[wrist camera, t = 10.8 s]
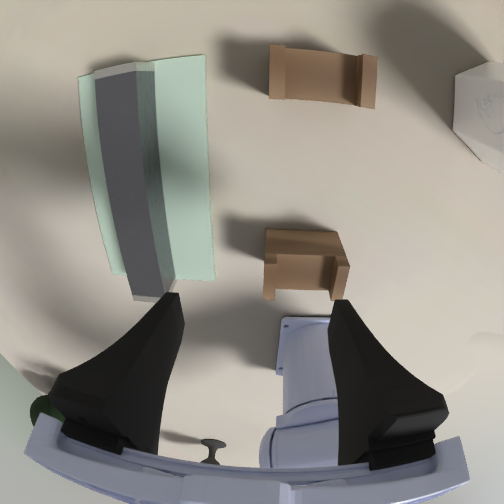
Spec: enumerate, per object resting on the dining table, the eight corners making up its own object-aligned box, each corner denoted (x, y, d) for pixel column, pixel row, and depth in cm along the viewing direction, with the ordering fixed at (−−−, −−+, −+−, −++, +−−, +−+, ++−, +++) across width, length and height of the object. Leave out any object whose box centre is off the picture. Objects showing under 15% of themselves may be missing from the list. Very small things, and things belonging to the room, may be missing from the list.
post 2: (331, 263, 24) (341, 301, 20) (264, 261, 24) (262, 299, 20) (337, 232, 23) (350, 266, 19) (265, 229, 23) (264, 263, 19)
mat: (215, 278, 26) (214, 281, 25) (114, 272, 26) (112, 274, 26) (205, 55, 16) (204, 55, 16) (81, 77, 17) (78, 77, 16)
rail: (176, 280, 26) (167, 303, 23) (145, 278, 26) (133, 300, 23) (154, 63, 16) (136, 61, 13) (116, 70, 16) (93, 70, 14)
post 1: (352, 103, 17) (374, 109, 13) (269, 96, 17) (268, 98, 13) (354, 62, 16) (377, 56, 12) (269, 54, 16) (269, 44, 12)
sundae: (213, 435, 45) (202, 508, 33) (237, 446, 48) (230, 514, 35) (189, 439, 48) (177, 506, 35) (213, 450, 50) (204, 512, 38)
